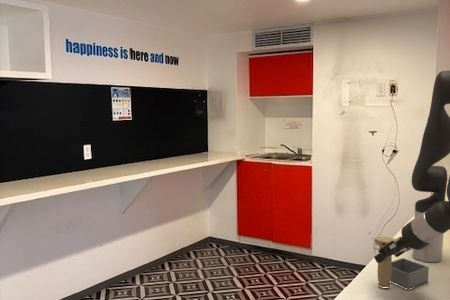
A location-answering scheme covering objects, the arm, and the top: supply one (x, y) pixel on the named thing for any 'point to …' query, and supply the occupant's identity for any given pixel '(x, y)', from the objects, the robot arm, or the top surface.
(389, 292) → the top surface
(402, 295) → the top surface
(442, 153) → the robot arm
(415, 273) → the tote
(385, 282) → the handle
